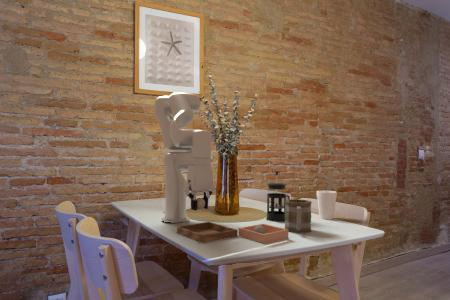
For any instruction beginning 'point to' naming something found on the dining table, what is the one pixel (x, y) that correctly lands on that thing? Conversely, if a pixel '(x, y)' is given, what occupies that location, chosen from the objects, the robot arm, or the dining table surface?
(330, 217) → the foam cup
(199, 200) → the beige ball
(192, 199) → the robot arm
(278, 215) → the french press
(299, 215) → the mug
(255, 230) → the grey ball
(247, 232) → the terracotta dish
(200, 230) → the walnut tray
